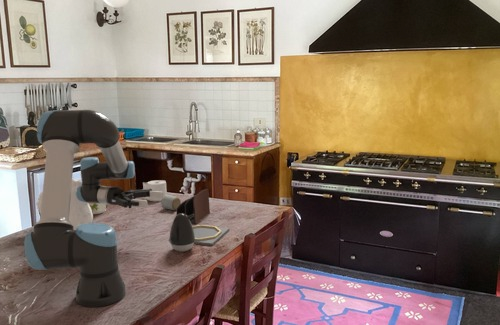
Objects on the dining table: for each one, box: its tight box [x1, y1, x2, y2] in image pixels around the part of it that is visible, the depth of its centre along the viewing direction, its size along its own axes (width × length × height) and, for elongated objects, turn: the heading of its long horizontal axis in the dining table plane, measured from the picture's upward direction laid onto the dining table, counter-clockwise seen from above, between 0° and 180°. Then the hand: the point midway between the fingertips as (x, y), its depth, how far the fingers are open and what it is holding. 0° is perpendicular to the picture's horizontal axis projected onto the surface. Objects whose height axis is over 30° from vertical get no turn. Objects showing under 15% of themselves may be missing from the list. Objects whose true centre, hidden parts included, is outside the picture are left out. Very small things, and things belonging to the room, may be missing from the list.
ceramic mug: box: [160, 194, 182, 211], centre depth 241 cm, size 11×8×8 cm
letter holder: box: [176, 188, 211, 225], centre depth 223 cm, size 10×20×14 cm, turn 165°
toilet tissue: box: [142, 179, 168, 202], centre depth 260 cm, size 11×12×10 cm
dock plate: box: [168, 224, 230, 247], centre depth 200 cm, size 20×20×2 cm
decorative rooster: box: [36, 178, 94, 230], centre depth 206 cm, size 25×16×25 cm, turn 71°
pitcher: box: [89, 203, 107, 215], centre depth 235 cm, size 11×18×14 cm, turn 80°
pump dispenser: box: [169, 213, 195, 253], centre depth 182 cm, size 10×10×15 cm
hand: (155, 199), depth 184 cm, fingers open, 13 cm apart
